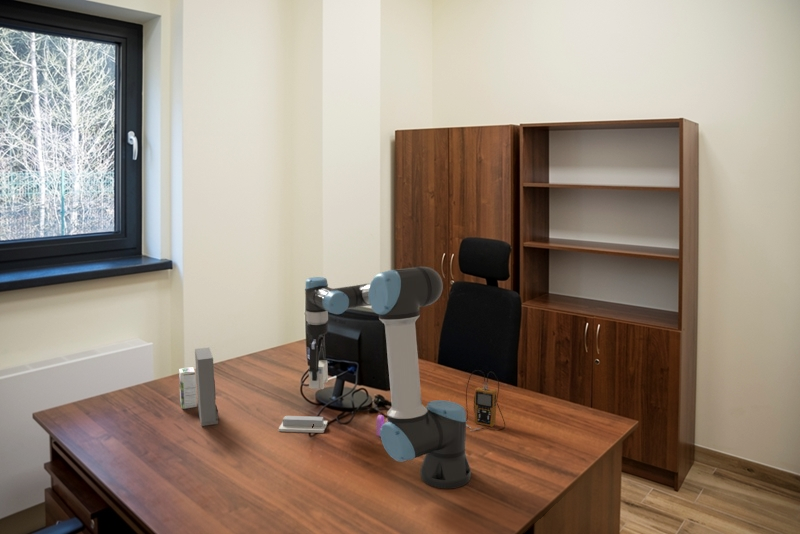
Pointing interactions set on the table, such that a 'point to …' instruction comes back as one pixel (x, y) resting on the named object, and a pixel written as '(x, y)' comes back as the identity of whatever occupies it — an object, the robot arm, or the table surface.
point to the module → (321, 374)
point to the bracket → (379, 423)
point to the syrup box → (187, 387)
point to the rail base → (303, 429)
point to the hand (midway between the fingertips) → (318, 384)
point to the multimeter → (484, 405)
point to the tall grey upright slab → (206, 387)
